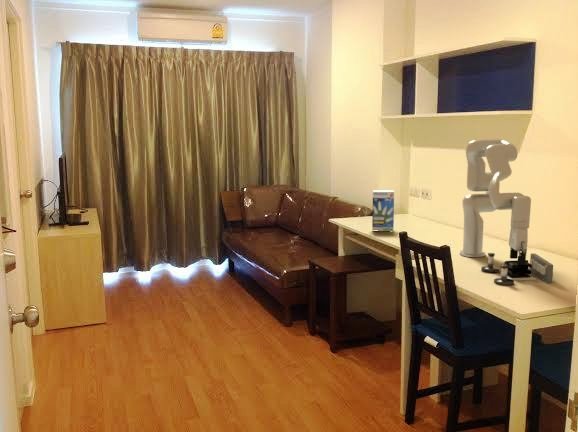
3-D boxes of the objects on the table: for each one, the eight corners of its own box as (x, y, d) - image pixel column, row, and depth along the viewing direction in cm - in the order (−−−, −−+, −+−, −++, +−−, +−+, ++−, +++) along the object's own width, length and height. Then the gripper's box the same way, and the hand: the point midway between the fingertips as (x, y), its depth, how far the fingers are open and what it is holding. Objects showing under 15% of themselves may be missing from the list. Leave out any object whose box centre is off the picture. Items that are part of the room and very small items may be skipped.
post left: (478, 270, 253) (479, 253, 252) (484, 268, 259) (485, 251, 259) (496, 273, 248) (497, 255, 247) (502, 270, 254) (503, 253, 254)
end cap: (524, 273, 248) (524, 258, 247) (532, 277, 241) (533, 262, 240) (502, 273, 247) (503, 259, 246) (510, 278, 240) (510, 263, 239)
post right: (491, 280, 239) (492, 262, 238) (510, 280, 239) (511, 262, 238) (497, 286, 232) (498, 267, 230) (516, 286, 231) (517, 267, 230)
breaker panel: (527, 270, 253) (528, 253, 252) (534, 270, 253) (535, 253, 252) (544, 283, 234) (545, 264, 232) (552, 283, 234) (553, 264, 232)
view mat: (500, 273, 249) (500, 272, 249) (527, 273, 249) (527, 272, 248) (507, 279, 239) (507, 279, 239) (535, 279, 239) (535, 278, 239)
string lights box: (372, 231, 346) (372, 191, 342) (373, 229, 353) (373, 189, 349) (393, 232, 343) (393, 191, 338) (393, 230, 350) (394, 190, 346)
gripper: (504, 219, 249) (502, 256, 252) (518, 228, 232) (515, 267, 235) (521, 219, 248) (519, 256, 252) (536, 228, 231) (533, 267, 235)
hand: (517, 261), depth 243 cm, fingers open, 9 cm apart
